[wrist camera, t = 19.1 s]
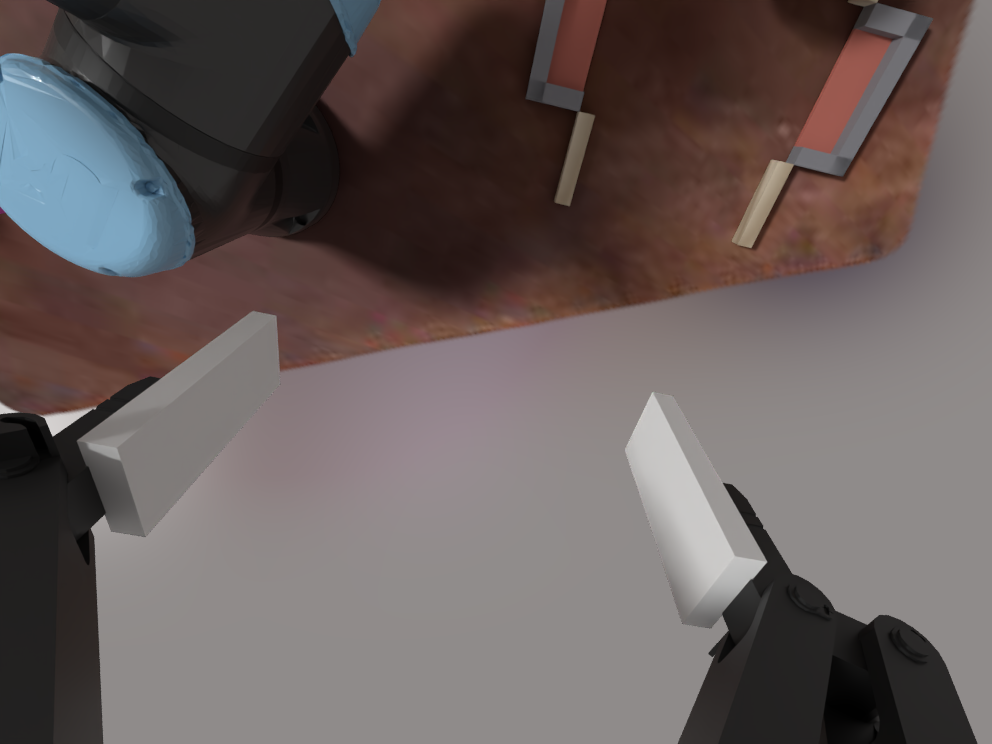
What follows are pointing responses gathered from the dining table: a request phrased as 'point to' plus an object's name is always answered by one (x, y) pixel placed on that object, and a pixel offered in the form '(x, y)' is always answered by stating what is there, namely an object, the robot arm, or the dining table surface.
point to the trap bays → (835, 116)
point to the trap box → (754, 212)
